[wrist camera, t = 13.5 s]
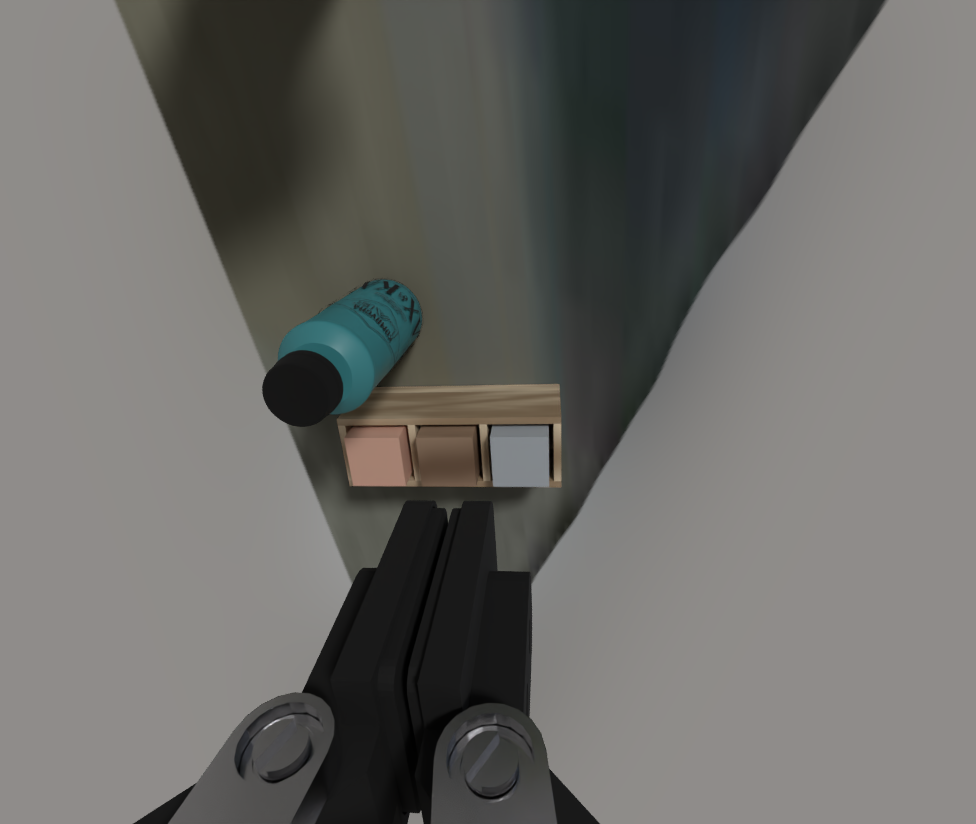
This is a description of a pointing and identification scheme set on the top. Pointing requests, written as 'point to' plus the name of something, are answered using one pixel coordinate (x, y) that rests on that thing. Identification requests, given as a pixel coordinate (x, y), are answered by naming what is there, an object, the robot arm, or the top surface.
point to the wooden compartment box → (462, 417)
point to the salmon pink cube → (379, 455)
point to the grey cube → (520, 455)
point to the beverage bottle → (342, 353)
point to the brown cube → (449, 455)
